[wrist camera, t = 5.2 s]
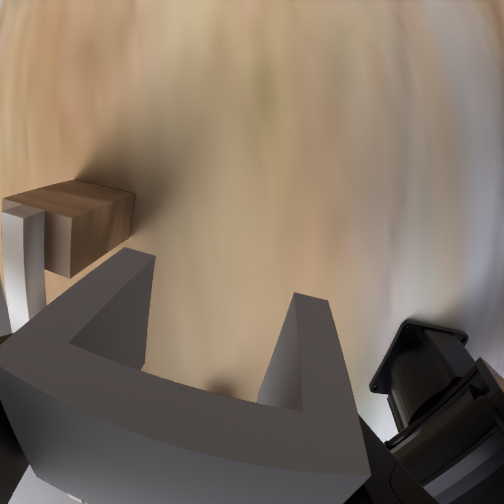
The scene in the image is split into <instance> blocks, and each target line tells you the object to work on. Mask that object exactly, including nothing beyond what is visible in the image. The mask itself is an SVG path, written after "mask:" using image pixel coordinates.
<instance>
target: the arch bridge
mask: <svg viewBox="0 0 504 504" xmlns="http://www.w3.org/2000/svg"><path fill="white" fill-rule="evenodd" d="M134 197H135V193H131V192H127V191H122V190H118V189H113V188H109V187H104V186H100V185H95V184H91V183H86V182H81V181H77V180H70V181H66V182H62V183H58V184H54V185H50V186H46V187H42V188H38V189H34V190H31V191H27V192H23V193H20V194H16V195H13V196H9V197H6V198H3V201H2V211H1V234H2V256H3V269H4V280H5V289H6V297H7V304H8V311H9V317H10V323H11V329H12V333H15V332H16V331H17V330H18V329H20V328H21V327H22V326H23V325H24V324H25V323H27V322H28V321H29V320H30V319H31V318H33V317H34V316H35V315H36V314H38V313H39V312H40V311H41V310H42V309H44V308H45V307H46V293H45V272H44V269H46V270H48V271H51V272H53V273H56V274H59V275H61V276H64V277H67V278H69V279H71V278H72V277H73V276H75V275H76V274H77V273H79V272H80V271H82V270H83V269H84V268H86V267H87V266H89V265H90V264H92V263H93V262H94V261H96V260H97V259H99V258H100V257H102V256H103V255H105V254H106V253H107V252H109V251H110V250H112V249H113V248H115V247H116V246H118V245H119V244H121V243H122V242H124V241H125V240H127V239H128V238H129V235H130V226H131V219H132V211H133V204H134ZM68 496H69V497H70V498H72V499H74V500H76V501H78V502H80V503H82V504H83V503H84V501H82V500H80V499H78V498H76V497H73V496H71V495H69V494H68Z"/></svg>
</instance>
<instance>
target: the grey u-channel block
mask: <svg viewBox="0 0 504 504" xmlns="http://www.w3.org/2000/svg"><path fill="white" fill-rule="evenodd" d="M155 257H156V256H154V255H151V254H147V253H143V252H140V251H136V250H133V249H129V248H126V247H124V248H123V249H121V250H120V251H119V252H117V253H116V254H114V255H113V256H112V257H110V258H109V259H108V260H106V261H105V262H103V263H102V264H101V265H99V266H98V267H97V268H95V269H94V270H93V271H91V272H90V273H89V274H87V275H86V276H85V277H83V278H82V279H81V280H79V281H78V282H77V283H75V284H74V285H73V286H72V287H70V288H69V289H68V290H66V291H65V292H64V293H63V294H61V295H60V296H59V297H57V298H56V299H55V300H54V301H52V302H51V303H50V304H49V305H47V306H46V307H45V308H44V309H42V310H41V311H40V312H39V313H38V314H36V315H35V316H34V317H33V318H31V319H30V320H29V321H28V322H27V323H25V324H24V325H23V326H22V327H21V328H20V329H18V330H17V331H16V332H15V333H14V334H12V335H11V336H10V337H9V338H8V339H7V340H6V341H4V342H3V343H2V344H1V345H0V400H1V402H2V405H3V408H4V410H5V413H6V415H7V417H8V420H9V422H10V424H11V427H12V429H13V431H14V433H15V435H16V438H17V440H18V442H19V444H20V446H21V448H22V450H23V452H24V454H25V456H26V458H27V460H28V462H29V464H30V465H31V467H32V469H33V471H34V473H35V474H36V476H37V477H38V478H40V479H42V480H43V481H45V482H47V483H49V484H50V485H52V486H54V487H56V488H58V489H60V490H62V491H64V492H65V493H67V494H69V495H71V496H73V497H76V498H78V499H80V500H82V501H84V502H86V503H89V504H343V503H344V502H345V501H346V500H347V499H348V498H349V497H350V496H351V495H352V494H353V493H354V492H355V491H356V490H357V489H358V488H359V487H360V486H361V485H362V484H363V483H364V482H365V481H366V480H367V479H368V478H369V477H370V476H371V472H370V467H369V462H368V457H367V453H366V448H365V443H364V439H363V434H362V430H361V425H360V421H359V417H358V413H357V408H356V404H355V400H354V396H353V392H352V388H351V384H350V380H349V376H348V372H347V368H346V364H345V360H344V357H343V353H342V349H341V345H340V342H339V338H338V334H337V331H336V327H335V324H334V320H333V317H332V313H331V310H330V306H329V303H328V300H323V299H319V298H315V297H311V296H307V295H303V294H299V293H295V292H294V294H293V297H292V300H291V303H290V306H289V309H288V312H287V315H286V318H285V321H284V324H283V327H282V330H281V333H280V335H279V338H278V341H277V344H276V347H275V350H274V352H273V355H272V358H271V361H270V364H269V366H268V369H267V372H266V375H265V377H264V380H263V383H262V385H261V388H260V391H259V393H258V402H257V403H254V402H249V401H245V400H240V399H236V398H232V397H228V396H224V395H220V394H216V393H212V392H208V391H204V390H201V389H197V388H194V387H190V386H187V385H183V384H180V383H176V382H173V381H170V380H167V379H163V378H160V377H157V376H154V375H151V374H148V373H145V372H142V371H140V370H141V368H142V366H143V365H144V363H145V351H146V338H147V327H148V316H149V306H150V297H151V288H152V280H153V272H154V264H155Z"/></svg>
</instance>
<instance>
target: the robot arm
mask: <svg viewBox="0 0 504 504" xmlns="http://www.w3.org/2000/svg"><path fill="white" fill-rule="evenodd" d="M408 326H409V328H408V329H406V330H405V328H406V327H408ZM12 334H14V333H11V334H8V335H4V336H1V337H0V345H1V344H2V343H3V342H4V341H6V340H7V339H8V338H9V337H10V336H11V335H12ZM462 338H463V339H462ZM461 339H462V340H461ZM467 341H468V335H467V334H466V333H465V332H462V331H457V330H452V329H447V328H442V327H438V326H433V325H428V324H423V323H419V322H414V321H409V320H407V321H404V322H403V323H402V324H401V325H400V328H399V330H398V332H397V334H396V336H395V338H394V340H393V342H392V344H391V346H390V348H389V350H388V351H387V353H386V355H385V357H384V359H383V361H382V363H381V365H380V366H379V368H378V370H377V372H376V374H375V375H374V377H373V379H372V381H371V382H370V384H369V388H370V391H371V392H372V393H379V394H388V398H387V400H388V403H389V406H390V409H391V412H392V415H393V418H394V421H395V424H396V427H397V430H398V434H397V435H396V436H394V437H393V438H392V439H390V440H389V441H385V442H384V443H383V442H382V441H381V440H380V439H379V438H378V437H377V435H376V434H375V433H374V432H373V431H372V430H371V428H370V427H369V426H368V425H367V424H366V422H365V421H364V420H363V419H362V418H361V417H360V415H359V414H358V417H359V421H360V425H361V430H362V434H363V439H364V443H365V448H366V453H367V457H368V462H369V467H370V472H371V476H370V477H369V478H368V479H367V480H366V481H365V482H364V483H363V484H362V485H361V486H360V487H359V488H358V489H357V490H356V491H355V492H354V493H353V494H352V495H351V496H350V497H349V498H348V499H347V500H346V501H345V502H344V503H343V504H504V379H503V378H502V377H501V376H500V375H499V374H498V373H497V372H496V371H495V370H494V369H493V368H492V367H491V366H490V365H489V364H488V363H487V362H486V361H485V360H483V359H482V358H481V357H480V358H479V359H478V360H477V361H476V362H475V361H474V359H473V358H472V357H471V355H470V354H469V353H468V351H467V350H466V349H465V347H464V346H465V344H466V342H467ZM375 386H377V387H375ZM28 466H29V462H28V460H27V458H26V456H25V454H24V452H23V450H22V448H21V446H20V444H19V442H18V440H17V438H16V435H15V433H14V431H13V429H12V427H11V424H10V422H9V420H8V417H7V415H6V413H5V410H4V408H3V405H2V402H1V400H0V504H8V502H9V500H10V499H11V497H12V495H13V493H14V491H15V489H16V487H17V485H18V483H19V482H20V480H21V478H22V476H23V475H24V473H25V471H26V469H27V468H28Z"/></svg>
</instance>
